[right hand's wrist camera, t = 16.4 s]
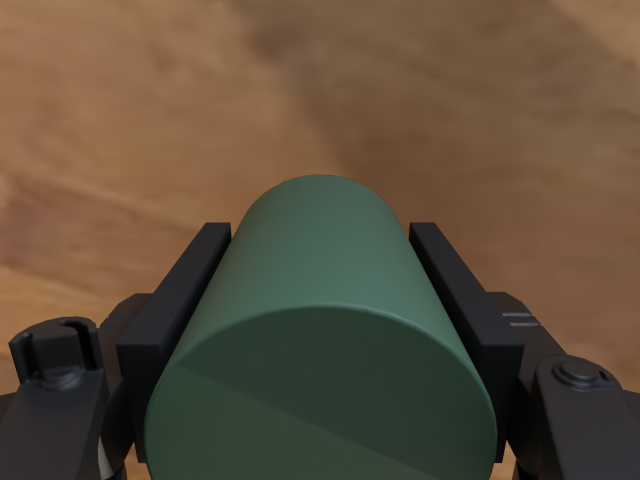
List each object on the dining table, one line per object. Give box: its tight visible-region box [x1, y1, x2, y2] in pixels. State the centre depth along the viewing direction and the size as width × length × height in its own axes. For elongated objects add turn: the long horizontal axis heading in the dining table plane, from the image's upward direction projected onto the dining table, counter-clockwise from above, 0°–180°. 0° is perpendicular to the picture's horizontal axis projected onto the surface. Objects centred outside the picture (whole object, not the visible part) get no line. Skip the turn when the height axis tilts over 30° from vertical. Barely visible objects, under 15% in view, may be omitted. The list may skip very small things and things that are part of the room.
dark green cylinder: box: [143, 175, 497, 480], centre depth 11 cm, size 6×6×8 cm
